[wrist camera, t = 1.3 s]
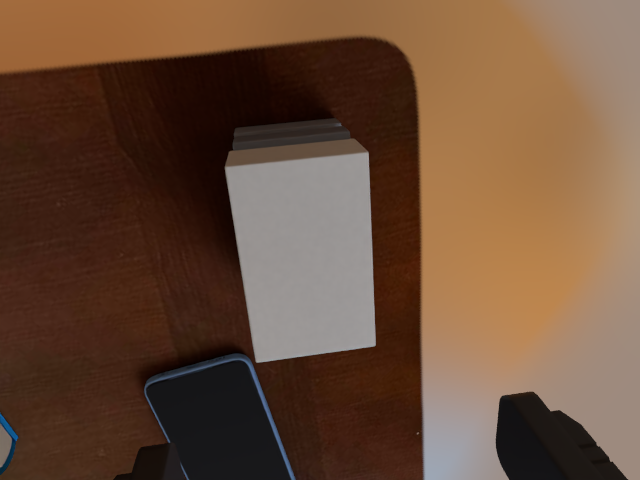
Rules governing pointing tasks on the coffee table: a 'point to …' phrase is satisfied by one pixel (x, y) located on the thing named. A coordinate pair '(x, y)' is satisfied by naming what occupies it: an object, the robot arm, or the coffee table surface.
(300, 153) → the light grey block
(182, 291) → the coffee table surface
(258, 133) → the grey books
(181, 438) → the smartphone
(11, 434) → the book
